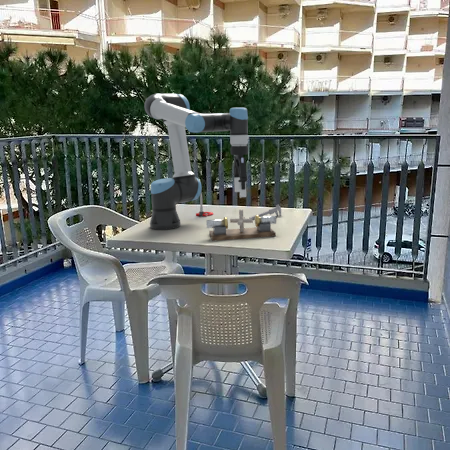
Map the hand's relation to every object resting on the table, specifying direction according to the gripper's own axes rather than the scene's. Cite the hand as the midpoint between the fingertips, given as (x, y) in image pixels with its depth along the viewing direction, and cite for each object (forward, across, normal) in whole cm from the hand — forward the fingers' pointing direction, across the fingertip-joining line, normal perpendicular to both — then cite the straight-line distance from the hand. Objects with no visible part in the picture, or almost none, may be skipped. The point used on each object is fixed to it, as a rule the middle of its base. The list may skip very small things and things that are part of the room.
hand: (240, 194), depth 186 cm
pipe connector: (+17, 0, 0) cm, 17 cm away
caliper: (+19, +31, -18) cm, 41 cm away
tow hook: (+19, +49, +12) cm, 54 cm away
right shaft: (+17, 0, -11) cm, 20 cm away
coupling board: (+18, 0, 0) cm, 18 cm away
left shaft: (+17, 0, +11) cm, 20 cm away
